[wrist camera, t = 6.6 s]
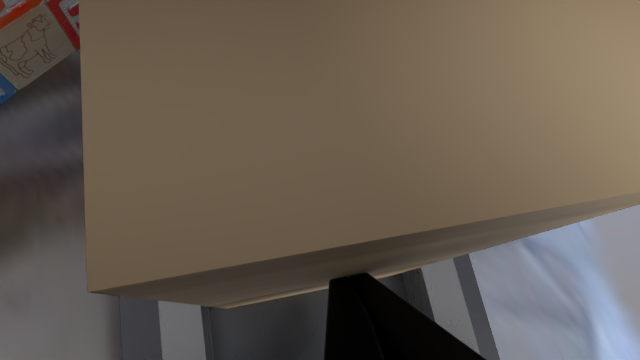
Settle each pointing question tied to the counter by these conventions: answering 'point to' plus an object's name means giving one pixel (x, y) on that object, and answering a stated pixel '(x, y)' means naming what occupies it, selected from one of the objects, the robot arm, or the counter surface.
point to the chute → (297, 320)
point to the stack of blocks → (34, 39)
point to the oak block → (343, 136)
